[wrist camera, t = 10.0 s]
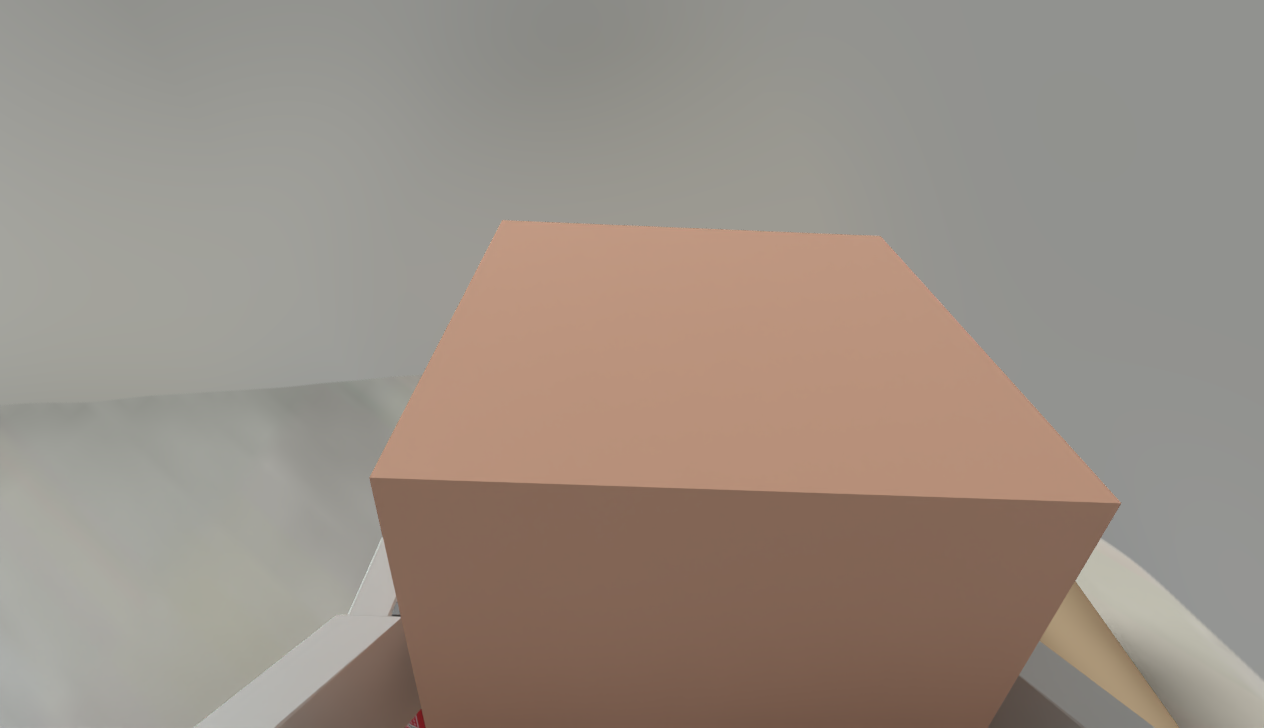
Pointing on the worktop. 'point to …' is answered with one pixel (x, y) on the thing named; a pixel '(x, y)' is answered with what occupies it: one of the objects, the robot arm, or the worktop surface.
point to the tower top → (1102, 657)
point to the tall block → (721, 492)
